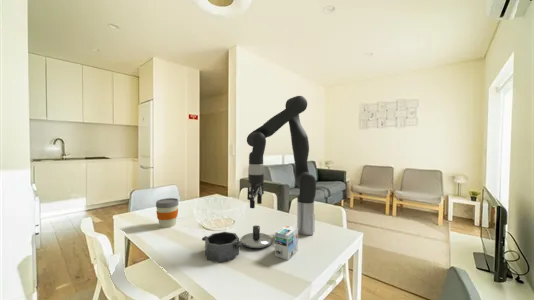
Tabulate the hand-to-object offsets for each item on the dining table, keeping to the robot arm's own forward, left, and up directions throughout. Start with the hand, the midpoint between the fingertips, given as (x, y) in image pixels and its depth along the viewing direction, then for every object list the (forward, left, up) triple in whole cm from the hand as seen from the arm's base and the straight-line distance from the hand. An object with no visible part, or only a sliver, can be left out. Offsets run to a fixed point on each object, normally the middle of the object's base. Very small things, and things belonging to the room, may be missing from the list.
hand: (256, 205), depth 110 cm
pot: (+10, +15, -19) cm, 26 cm away
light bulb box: (-17, +4, -19) cm, 26 cm away
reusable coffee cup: (+60, -3, -19) cm, 63 cm away
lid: (0, 0, -19) cm, 19 cm away
